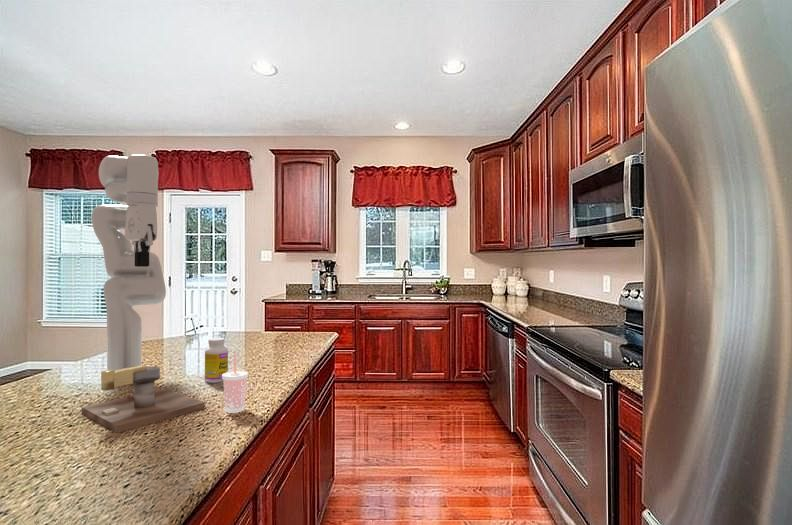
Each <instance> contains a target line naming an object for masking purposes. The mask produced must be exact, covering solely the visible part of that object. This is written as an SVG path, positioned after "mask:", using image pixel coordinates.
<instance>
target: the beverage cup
mask: <svg viewBox="0 0 792 525" xmlns="http://www.w3.org/2000/svg"><path fill="white" fill-rule="evenodd" d="M248 377H249V372H248V371H244V370H237V353H234V354H233V370H232V371H228V372H226V373H223V374H222V379H223V382H222V383H223V396H224V397H223V398H224V410H225V412H226V413H228V414H236V413H237V414H238V413H241V412H243V411H245V410H246V396H247V395H246V394H247V380H248Z"/></svg>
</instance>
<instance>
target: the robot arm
mask: <svg viewBox="0 0 792 525" xmlns="http://www.w3.org/2000/svg"><path fill="white" fill-rule="evenodd" d="M159 171H160V170H159V162H158V160H157V158H156V157H154V156H151V155H147V154H136V153H135V154H131V155H129V156H119V155H107V156H105V157H103V158H102V160H101V162H100V164H99V167H98V179H99V182H100V184H101V185H102V186H103V187H104V191H105V192H104V193H105V194H106V196H107V197H108V198H109V199H110V200H111V201H113V202H116V203H123V204H108V203H107V204H100V205H97V206H95V207H94V208H93V209H92V212H91V213H92V214H91V223H92V227H93V231H94V234H95V235H96V238H97V240H98V241H99V243H100V245H101V247H102V251H103V258H104V265H105V270H106V273H107V275H108V276H109V279H107V280H106V281H105V282H104V284H103V297H104V303H105V308H106V309H105V310H106V370H120V369H125V368H130V367H134V366H139V365H142V318H141V316H140V314H139V313H138V312H137V311H136V310H135V309H134V308H133V307H135V306H145V305H147V306H148V305H149V306H150V305H156V304H161V303H163V302H164V300H165V299H166V296H167V289H166V283H165V282H166V281H165V279H164V272H163V269H162V265H161V261H160V258H159V256H158V255H157V254H156V253H154V252H151V247H152V246H153V245H154V241H156V240H157V238H158V214H157V207H159V206H158V202H159V198H158V196H159V194H158V193H159V191H158V190H159V179H160V178H159V175H160V174H159ZM124 204H125V205H124ZM119 230H124V234H123V233H122V232H121V231H119Z"/></svg>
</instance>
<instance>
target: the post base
mask: <svg viewBox="0 0 792 525" xmlns="http://www.w3.org/2000/svg"><path fill="white" fill-rule="evenodd" d="M205 403H206V402H204V401H202V400H199V399H198V398H197V399H196V398H194V397H191V396H188V395H186V394H183V393H180V392H177V391H175V390H173V389H172V390H171V389H169V388H167V387H164V388H160V389H156V390H155V381H153V382H148V383H133V395H129V394H128V395H126V396H125V397H121V398H116V399H112V400H108V401H106V400H105V401H103V402H99V403H98V402H97V403H95V404H89V405H85V406H84V405H83V406H81V414H82V415H84V416H85V417H87V418H89V419H91V420H93V421H94V422H96V423H98V424H100V425H101V426H104V427H106V428H107V429H109V430H111V431H113V432H114V433H116V434H118V432H119V433H121V432H125V431H129V430H132V429H136V428H140V427H143V426H146V425H149V424H154V423H157V422H160V420H161V421H164V420H168V419H171V418H174V417H179V416H182V415H185V414H188V413H189V414H190V413H192V412H195V411H199V410H203V409H206V408H205Z"/></svg>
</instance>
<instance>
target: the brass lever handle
mask: <svg viewBox="0 0 792 525" xmlns="http://www.w3.org/2000/svg"><path fill="white" fill-rule="evenodd" d="M100 379H101V380H100V381H101V382H100V385H101V387H100V390H101V391H111V390H114V389H115V388H119V387H121V386H126V385H132V384H134V383H148V382H153V381H154V382H156V381H158V380H160V379H161V368H160V367H159V366H147V365H144V364H141V365H139V366H134V367H130V368H125V369H120V370H107V369H106V370H103V371H101V372H100Z"/></svg>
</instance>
